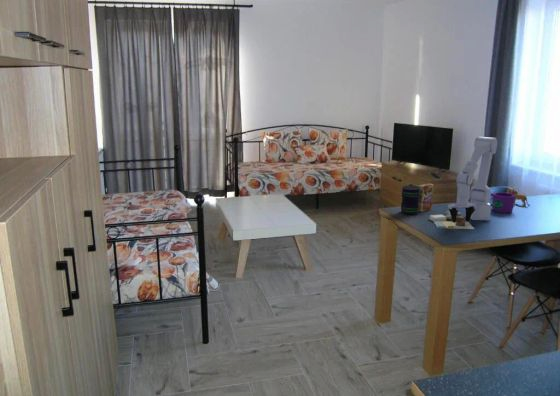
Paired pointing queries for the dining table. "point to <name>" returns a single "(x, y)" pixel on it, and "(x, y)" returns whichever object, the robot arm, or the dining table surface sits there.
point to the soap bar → (437, 218)
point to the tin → (448, 215)
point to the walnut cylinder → (460, 221)
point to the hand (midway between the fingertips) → (460, 221)
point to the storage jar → (410, 200)
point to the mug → (503, 202)
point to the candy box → (425, 197)
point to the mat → (452, 225)
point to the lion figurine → (518, 196)
